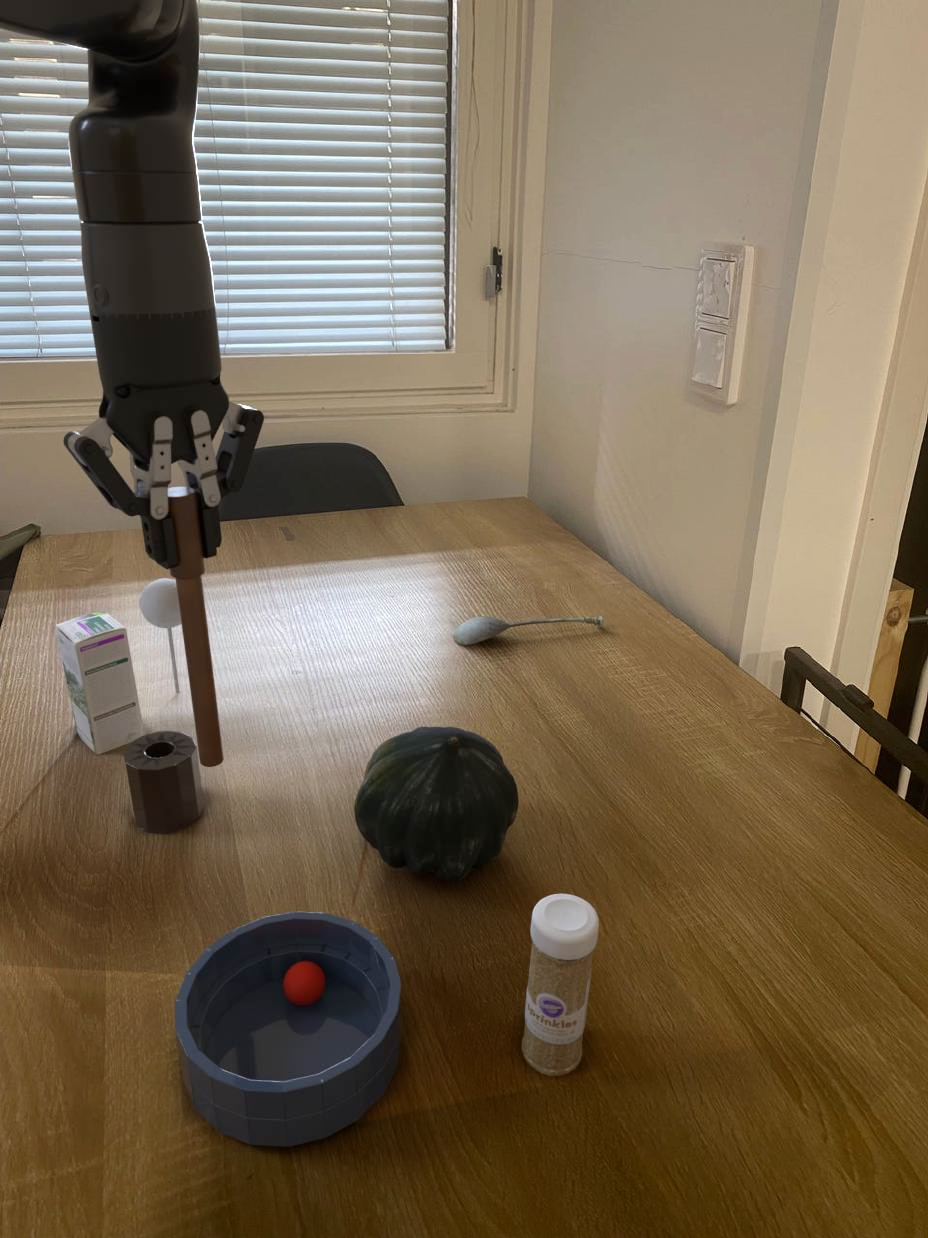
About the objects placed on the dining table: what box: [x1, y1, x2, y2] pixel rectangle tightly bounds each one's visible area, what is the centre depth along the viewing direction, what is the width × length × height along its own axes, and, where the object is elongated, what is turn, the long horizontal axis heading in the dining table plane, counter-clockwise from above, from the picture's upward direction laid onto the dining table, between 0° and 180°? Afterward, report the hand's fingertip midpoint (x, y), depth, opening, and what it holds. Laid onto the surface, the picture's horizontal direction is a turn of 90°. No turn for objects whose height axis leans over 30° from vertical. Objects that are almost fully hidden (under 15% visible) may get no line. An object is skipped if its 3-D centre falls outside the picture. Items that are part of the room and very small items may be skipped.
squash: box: [353, 726, 520, 883], centre depth 84 cm, size 14×15×15 cm
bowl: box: [174, 910, 403, 1148], centre depth 66 cm, size 16×16×6 cm
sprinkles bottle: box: [521, 893, 600, 1077], centre depth 64 cm, size 5×5×13 cm
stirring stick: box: [167, 486, 225, 768], centre depth 67 cm, size 2×2×22 cm
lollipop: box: [138, 577, 182, 694], centre depth 109 cm, size 6×6×15 cm
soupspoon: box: [452, 615, 604, 646], centre depth 129 cm, size 22×3×7 cm
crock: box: [122, 730, 205, 834], centre depth 89 cm, size 7×7×8 cm
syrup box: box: [54, 610, 145, 756], centre depth 100 cm, size 6×6×14 cm
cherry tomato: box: [283, 961, 325, 1006], centre depth 70 cm, size 3×3×3 cm
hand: (185, 558), depth 64 cm, fingers closed on stirring stick, 2 cm apart
